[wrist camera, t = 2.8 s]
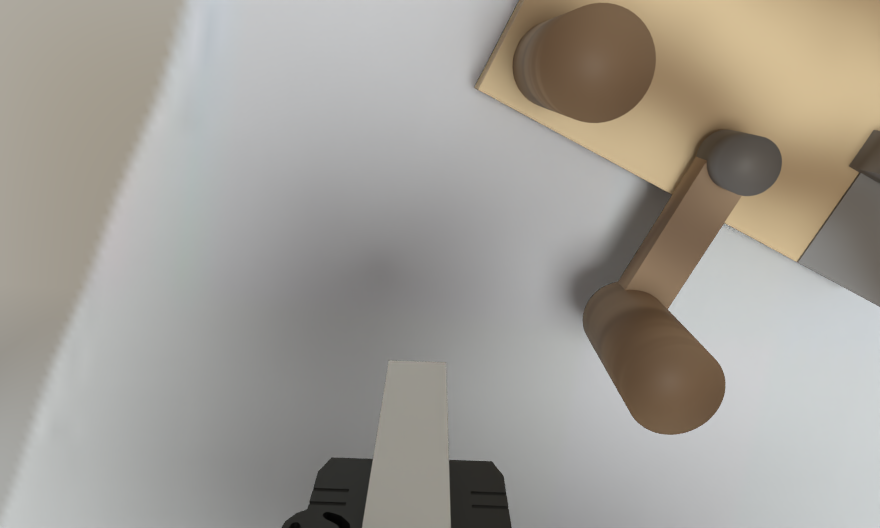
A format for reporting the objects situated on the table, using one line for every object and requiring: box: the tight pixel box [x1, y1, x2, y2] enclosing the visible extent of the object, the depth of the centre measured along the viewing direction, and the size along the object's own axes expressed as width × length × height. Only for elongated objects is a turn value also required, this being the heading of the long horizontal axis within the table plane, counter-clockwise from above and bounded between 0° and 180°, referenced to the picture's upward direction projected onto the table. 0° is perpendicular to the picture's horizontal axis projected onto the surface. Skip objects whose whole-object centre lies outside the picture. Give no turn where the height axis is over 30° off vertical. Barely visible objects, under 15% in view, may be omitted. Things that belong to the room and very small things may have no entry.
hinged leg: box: [583, 130, 782, 435], centre depth 22 cm, size 10×3×6 cm, turn 153°
